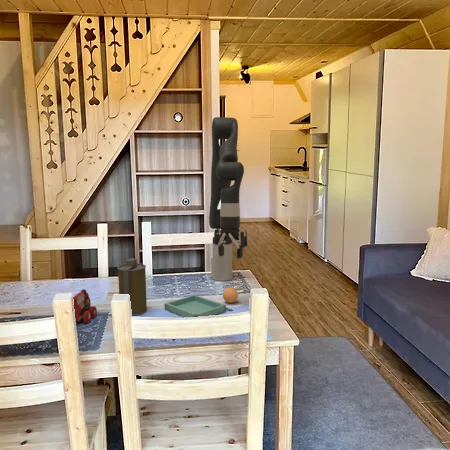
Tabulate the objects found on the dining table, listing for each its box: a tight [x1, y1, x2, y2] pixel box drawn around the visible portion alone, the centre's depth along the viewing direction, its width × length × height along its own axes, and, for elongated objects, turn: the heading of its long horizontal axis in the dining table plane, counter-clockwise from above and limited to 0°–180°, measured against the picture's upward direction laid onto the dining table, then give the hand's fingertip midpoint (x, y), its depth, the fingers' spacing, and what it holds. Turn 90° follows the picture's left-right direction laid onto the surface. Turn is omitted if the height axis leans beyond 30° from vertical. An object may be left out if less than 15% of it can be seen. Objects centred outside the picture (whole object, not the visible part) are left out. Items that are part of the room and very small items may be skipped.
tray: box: [164, 294, 227, 318], centre depth 166 cm, size 18×15×2 cm
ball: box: [222, 287, 239, 304], centre depth 175 cm, size 6×6×6 cm
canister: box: [116, 257, 148, 317], centre depth 164 cm, size 11×10×20 cm
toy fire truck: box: [72, 289, 98, 324], centre depth 157 cm, size 7×12×10 cm, turn 175°
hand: (230, 257), depth 169 cm, fingers open, 8 cm apart
